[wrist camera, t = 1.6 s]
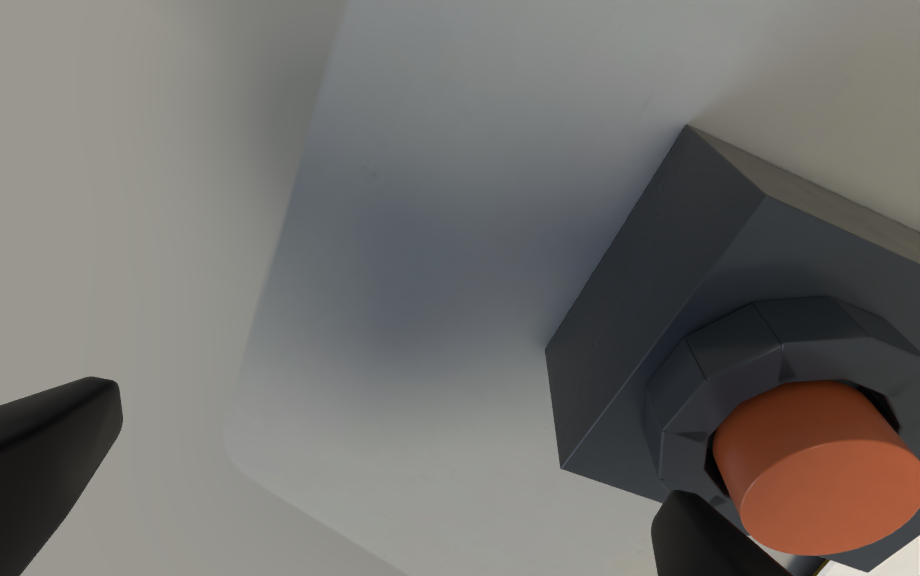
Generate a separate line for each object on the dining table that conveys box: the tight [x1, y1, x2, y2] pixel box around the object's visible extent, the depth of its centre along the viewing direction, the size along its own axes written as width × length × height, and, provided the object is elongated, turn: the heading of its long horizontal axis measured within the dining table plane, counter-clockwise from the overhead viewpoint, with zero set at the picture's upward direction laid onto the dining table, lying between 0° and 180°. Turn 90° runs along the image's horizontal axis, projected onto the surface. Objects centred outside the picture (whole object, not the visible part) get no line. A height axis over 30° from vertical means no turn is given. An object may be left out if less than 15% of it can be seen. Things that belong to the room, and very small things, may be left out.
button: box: [712, 380, 920, 555], centre depth 14 cm, size 4×4×2 cm
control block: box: [545, 125, 920, 573], centre depth 18 cm, size 12×10×8 cm
